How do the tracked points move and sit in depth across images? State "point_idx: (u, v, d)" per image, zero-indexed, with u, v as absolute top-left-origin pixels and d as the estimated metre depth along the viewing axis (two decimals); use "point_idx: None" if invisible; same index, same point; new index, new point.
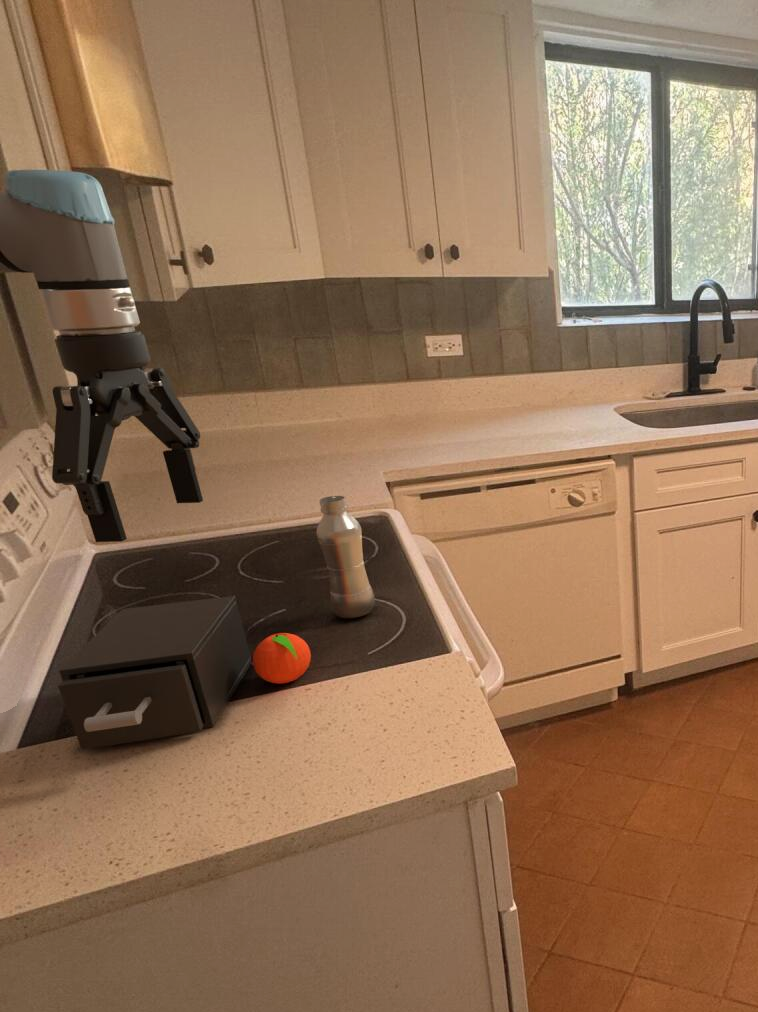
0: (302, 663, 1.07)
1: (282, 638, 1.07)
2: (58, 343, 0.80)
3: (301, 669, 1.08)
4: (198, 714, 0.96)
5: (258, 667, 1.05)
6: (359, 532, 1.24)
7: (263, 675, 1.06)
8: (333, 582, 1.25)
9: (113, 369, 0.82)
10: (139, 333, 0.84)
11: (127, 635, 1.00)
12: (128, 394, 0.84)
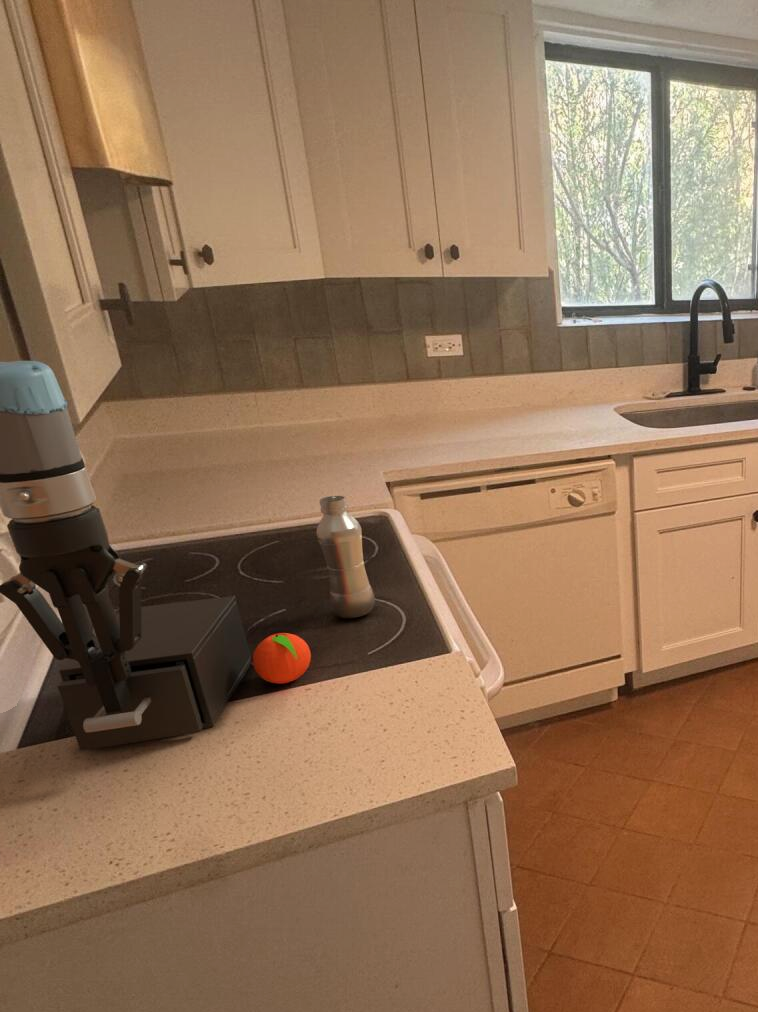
0: (302, 663, 1.07)
1: (282, 638, 1.07)
2: None
3: (301, 669, 1.08)
4: (198, 715, 0.96)
5: (258, 667, 1.05)
6: (359, 532, 1.24)
7: (263, 675, 1.06)
8: (333, 582, 1.25)
9: (21, 555, 0.81)
10: (50, 524, 0.80)
11: None
12: (51, 578, 0.82)
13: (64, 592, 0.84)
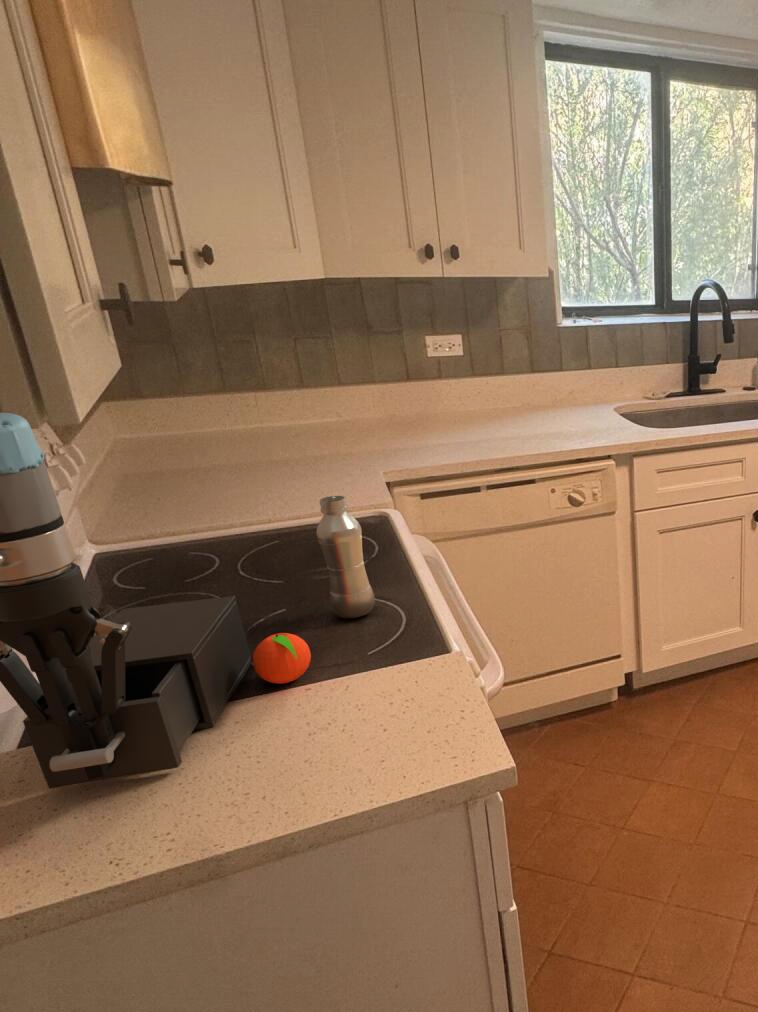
0: (302, 663, 1.07)
1: (282, 638, 1.07)
2: None
3: (301, 669, 1.08)
4: (176, 749, 0.90)
5: (258, 667, 1.05)
6: (359, 532, 1.24)
7: (263, 675, 1.06)
8: (333, 582, 1.25)
9: None
10: (27, 587, 0.75)
11: None
12: (28, 641, 0.77)
13: (42, 656, 0.79)
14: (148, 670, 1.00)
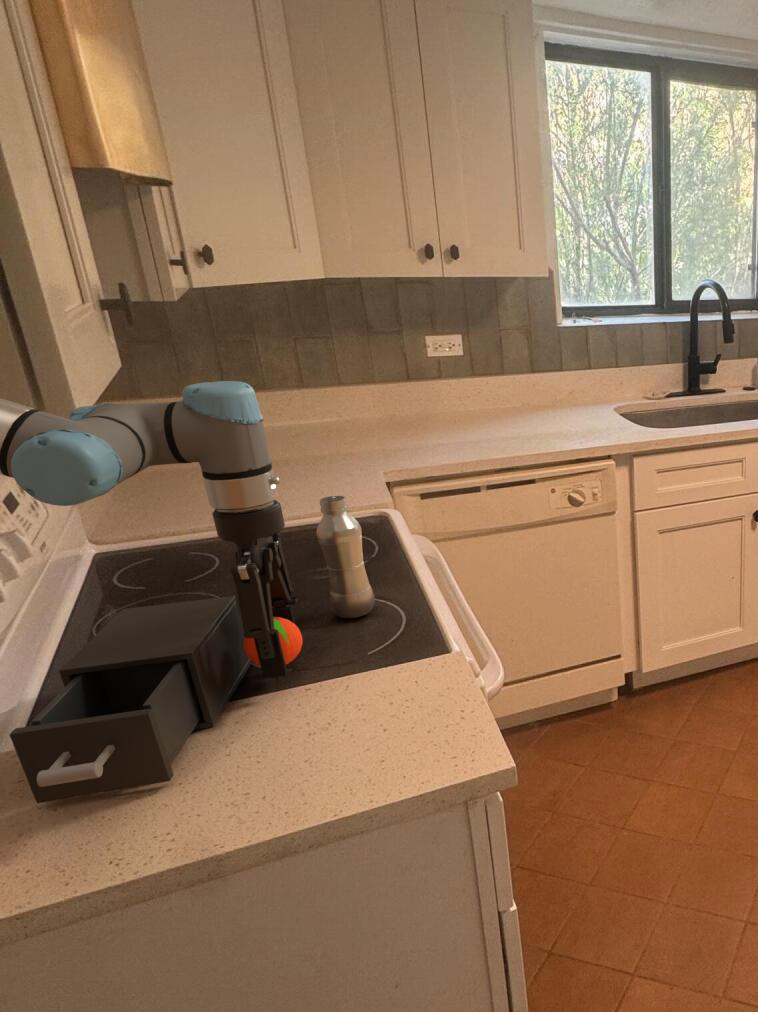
0: (294, 648, 1.06)
1: (274, 622, 1.05)
2: (222, 520, 0.97)
3: (292, 653, 1.06)
4: (167, 762, 0.87)
5: (249, 650, 1.04)
6: (359, 532, 1.24)
7: (254, 659, 1.04)
8: (333, 582, 1.25)
9: (267, 536, 1.00)
10: (278, 502, 1.02)
11: (127, 635, 1.00)
12: (271, 553, 1.02)
13: None
14: (140, 680, 0.98)
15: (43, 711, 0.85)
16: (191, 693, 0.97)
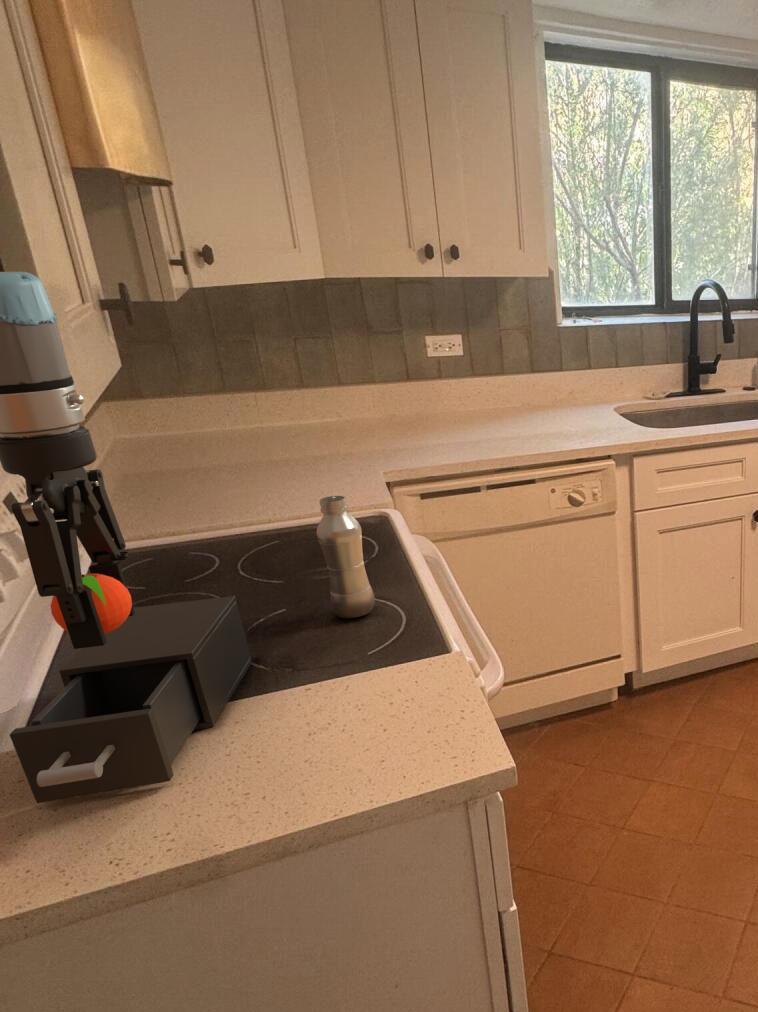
0: (116, 611, 0.86)
1: (89, 579, 0.85)
2: (2, 447, 0.77)
3: (114, 618, 0.86)
4: (167, 762, 0.87)
5: (55, 614, 0.84)
6: (359, 532, 1.24)
7: (62, 624, 0.84)
8: (333, 582, 1.25)
9: (66, 469, 0.80)
10: (85, 429, 0.82)
11: (127, 635, 1.00)
12: (78, 492, 0.82)
13: None
14: (140, 680, 0.98)
15: (43, 711, 0.85)
16: (191, 693, 0.97)
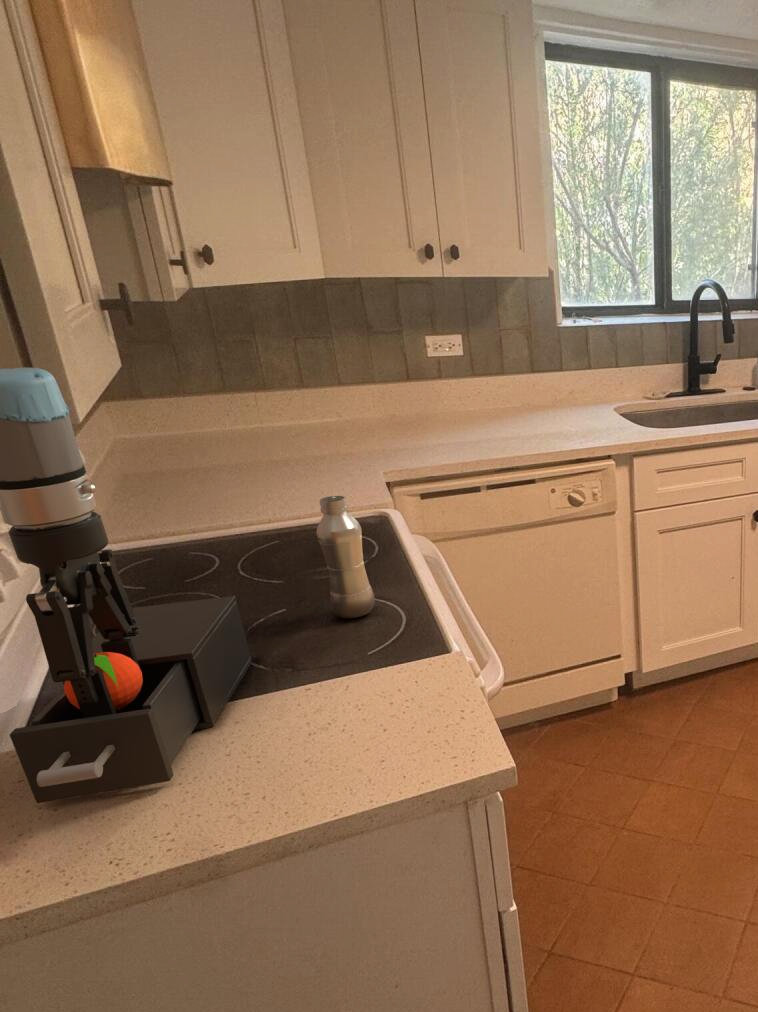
0: (127, 689, 0.88)
1: (101, 659, 0.87)
2: (17, 538, 0.79)
3: (126, 696, 0.88)
4: (167, 762, 0.87)
5: (69, 694, 0.86)
6: (359, 532, 1.24)
7: (75, 704, 0.86)
8: (333, 582, 1.25)
9: (79, 557, 0.82)
10: (97, 515, 0.84)
11: None
12: (90, 577, 0.84)
13: None
14: None
15: (43, 711, 0.85)
16: (191, 693, 0.97)
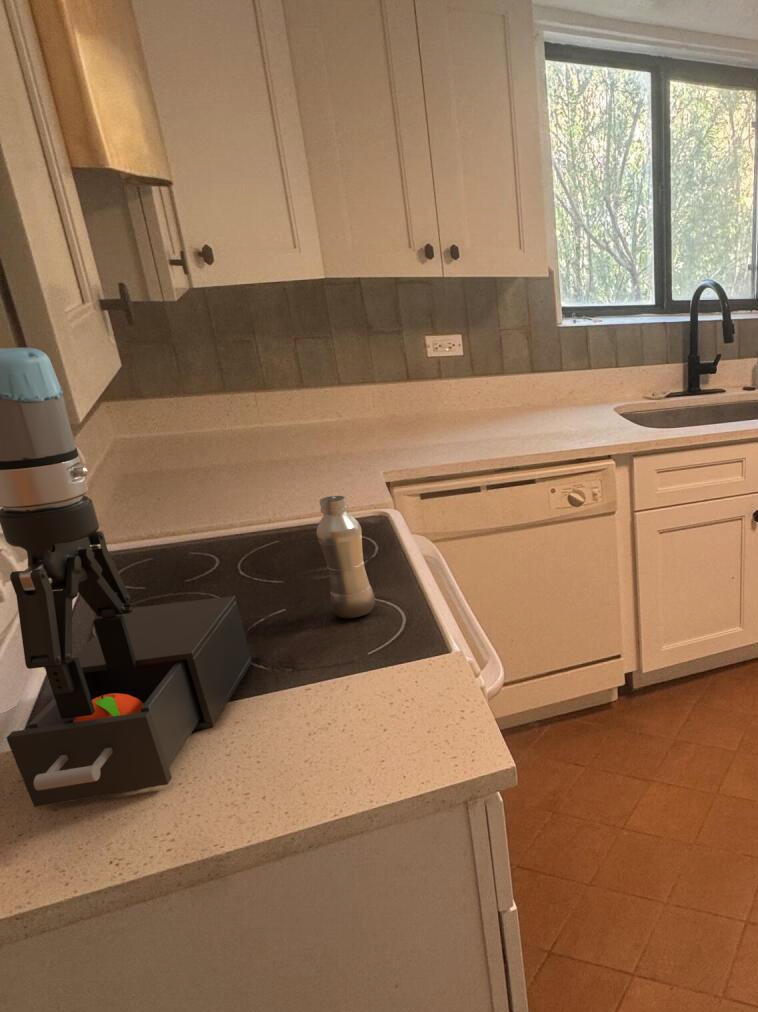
0: None
1: (108, 701, 0.88)
2: (5, 520, 0.78)
3: None
4: (165, 765, 0.87)
5: None
6: (359, 532, 1.24)
7: None
8: (333, 582, 1.25)
9: (68, 541, 0.80)
10: (88, 499, 0.83)
11: None
12: (79, 562, 0.83)
13: None
14: (138, 682, 0.97)
15: (41, 714, 0.85)
16: (189, 695, 0.96)
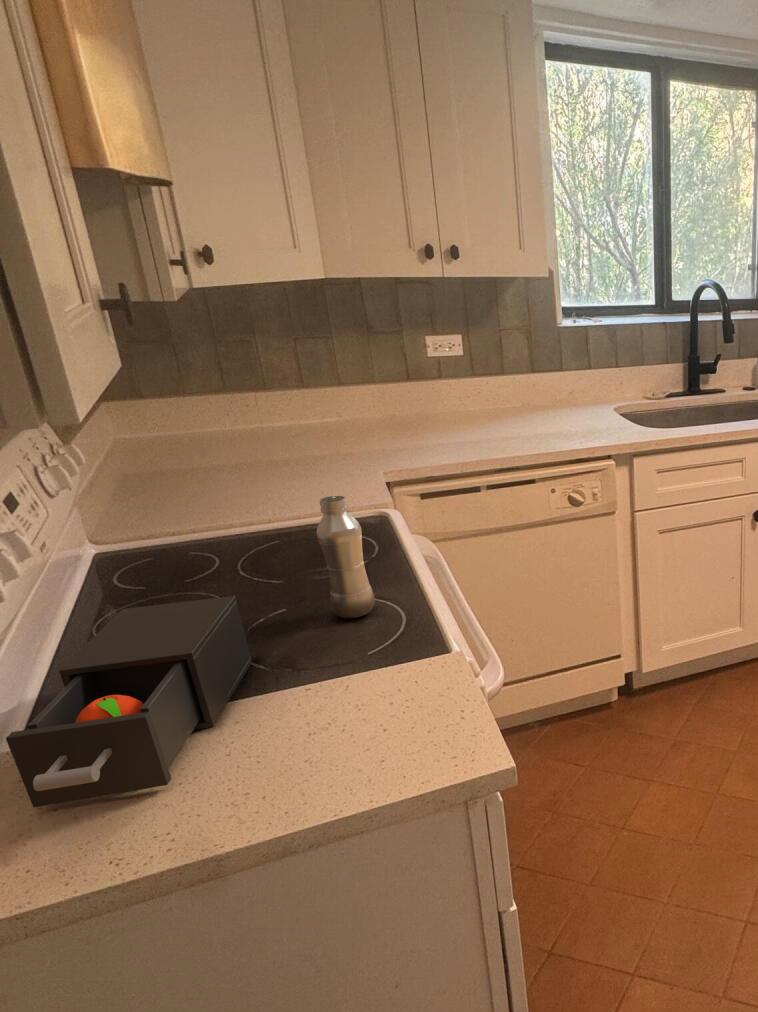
0: None
1: (110, 703, 0.88)
2: None
3: None
4: (165, 766, 0.87)
5: None
6: (359, 532, 1.24)
7: None
8: (333, 582, 1.25)
9: None
10: None
11: (127, 635, 1.00)
12: None
13: None
14: (138, 682, 0.97)
15: (40, 715, 0.84)
16: (189, 696, 0.96)
